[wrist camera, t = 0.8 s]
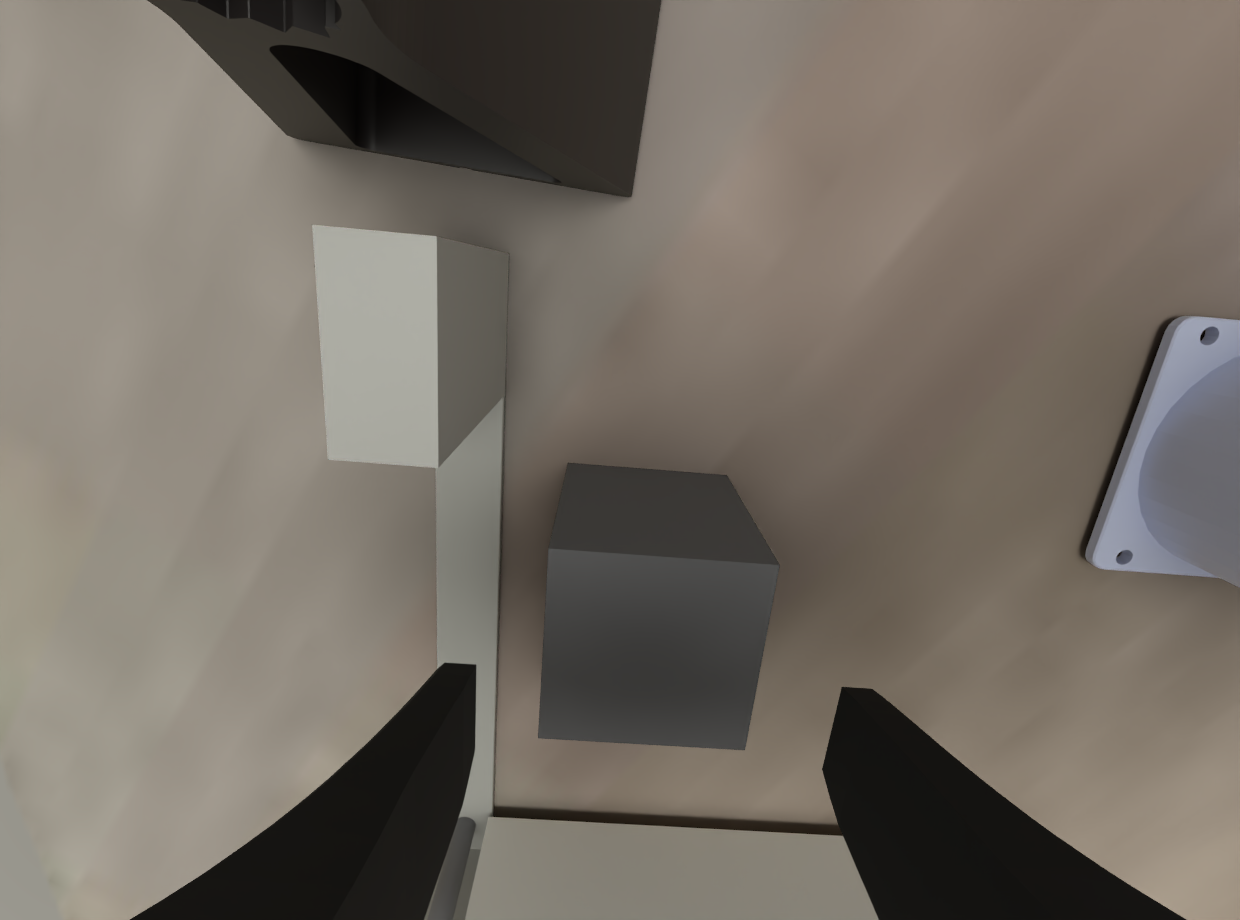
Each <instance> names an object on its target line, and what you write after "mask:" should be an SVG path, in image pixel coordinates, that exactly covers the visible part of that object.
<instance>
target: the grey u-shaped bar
mask: <svg viewBox="0 0 1240 920" xmlns="http://www.w3.org/2000/svg"><path fill="white" fill-rule="evenodd" d="M312 229H313V244H314V259H315V273H316V288H317V303H318V318H319V333H320V348H321V363H322V378H323V393H324V408H325V423H326V437H327V452H328V460H341V461H354V462H367V463H380V464H392V465H405V466H418V467H431V468H436V579H437V669H438V668H439V667H440V666H441V665H442V664H444V663H460V664H476V729H475V753H474V758H473V762H472V767H471V771H470V776H469V780H468V785H467V789H466V793H465V798H464V802H463V806H462V809H461V812H460V815H459V818H458V821H457V824H456V827H455V830H454V833H453V836H452V839H451V842H450V845H449V848H448V851H447V854H446V857H445V859H444V862H443V865H442V868H441V871H440V874H439V877H438V880H437V883H436V886H435V889H434V892H433V895H432V898H431V901H430V904H429V907H428V909H427V912H426V915H425V918H424V920H465V917H466V913H467V908H468V904H469V900H470V895H471V891H472V886H473V882H474V878H475V873H476V869H477V865H478V860H479V856H480V851H481V847H482V843H483V838H484V834H485V830H486V825H487V821H488V817H493V813H494V777H495V741H496V705H497V669H498V633H499V598H500V562H501V526H502V490H503V454H504V418H505V382H506V346H507V310H508V274H509V253H505V252H501V251H497V250H492V249H488V248H484V247H480V246H476V245H471V244H467V243H463V242H459V241H454V240H450V239H446V238H442V237H437V236H428V235H417V234H406V233H396V232H385V231H374V230H363V229H352V228H342V227H331V226H320V225H312Z"/></svg>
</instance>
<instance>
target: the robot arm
mask: <svg viewBox="0 0 1240 920" xmlns="http://www.w3.org/2000/svg"><path fill="white" fill-rule="evenodd" d="M1204 330H1205V336H1204V338H1203V339H1202V340H1201V341H1200V335H1201V334H1202V332H1203V331H1204ZM1121 551H1122V553H1121V555H1120V556H1119V557H1117V555H1118V554H1119V553H1120V552H1121ZM1085 557H1086V560H1087V561H1088V562H1089V563H1090V564H1092V565H1094V566H1095V567H1097V568H1100V569H1105V570H1119V571H1132V572H1146V573H1159V574H1173V575H1187V576H1200V577H1214V578H1221V579H1223V580H1225V581H1227V582H1229V583H1231V584H1233V585H1235V586H1237V587H1239V588H1240V320H1232V319H1221V318H1210V317H1199V316H1181V317H1179V318H1177V319H1175V320H1173V321H1172V322H1171V323H1170V324H1169V325H1168V327H1167V329H1166V330H1165V332H1164V335H1163V338H1162V341H1161V344H1160V346H1159V349H1158V352H1157V355H1156V357H1155V360H1154V363H1153V366H1152V368H1151V371H1150V374H1149V377H1148V380H1147V382H1146V385H1145V388H1144V391H1143V393H1142V396H1141V399H1140V402H1139V404H1138V407H1137V410H1136V413H1135V416H1134V418H1133V421H1132V424H1131V427H1130V429H1129V432H1128V435H1127V438H1126V440H1125V443H1124V446H1123V449H1122V452H1121V454H1120V457H1119V460H1118V463H1117V465H1116V468H1115V471H1114V474H1113V477H1112V479H1111V482H1110V485H1109V488H1108V490H1107V493H1106V496H1105V499H1104V501H1103V504H1102V507H1101V510H1100V513H1099V515H1098V518H1097V521H1096V524H1095V526H1094V529H1093V532H1092V535H1091V537H1090V540H1089V543H1088V546H1087V549H1086V553H1085ZM1116 557H1117V558H1116ZM475 729H476V664H460V663H444V664H442V665H441V666H440V667H439V668H438V669H437V670H436V671H435V672H434V673H433V674H432V676H431V677H430V678H429V679H428V680H427V681H426V682H425V684H424V685H423V686H422V687H421V688H420V689H419V690H418V691H417V692H416V693H415V695H414V696H413V697H412V698H411V699H410V700H409V701H408V702H407V703H406V704H405V705H404V706H403V707H402V708H401V710H400V711H399V712H398V713H397V714H396V715H395V716H394V717H393V718H392V719H391V720H390V721H389V722H388V723H387V724H386V725H385V726H384V727H383V728H382V729H381V730H380V731H379V732H378V733H377V734H376V735H375V736H374V737H373V738H372V739H371V740H370V741H369V742H368V743H367V744H366V745H365V746H364V747H363V748H362V749H360V750H359V751H358V752H357V753H356V754H355V755H354V756H353V757H352V758H351V759H350V760H348V761H347V762H346V763H345V764H344V765H343V766H342V767H341V768H340V769H339V770H338V771H336V772H335V773H334V774H333V775H332V776H331V777H330V778H329V779H328V780H326V781H325V782H324V783H323V784H322V785H321V786H319V787H318V788H317V789H316V790H315V791H314V792H312V793H311V794H310V795H309V796H308V797H306V798H305V799H304V800H303V801H302V802H300V803H299V804H298V805H297V806H295V807H294V808H293V809H292V810H290V811H289V812H288V813H286V814H285V815H284V816H283V817H281V818H280V819H279V820H278V821H276V822H275V823H274V824H272V825H271V826H270V827H268V828H267V829H266V830H264V831H263V832H262V833H260V834H259V835H258V836H256V837H255V838H253V839H252V840H251V841H249V842H248V843H247V844H245V845H244V846H242V847H241V848H240V849H238V850H237V851H235V852H234V853H232V854H231V855H230V856H228V857H227V858H225V859H224V860H222V861H221V862H220V863H218V864H217V865H215V866H214V867H212V868H211V869H210V870H208V871H207V872H205V873H204V874H202V875H201V876H199V877H198V878H196V879H195V880H193V881H191V882H190V883H188V884H187V885H185V886H184V887H182V888H180V889H179V890H177V891H176V892H174V893H173V894H171V895H169V896H168V897H166V898H165V899H163V900H162V901H160V902H158V903H157V904H155V905H153V906H152V907H150V908H148V909H147V910H145V911H143V912H142V913H140V914H138V915H137V916H135V917H133V918H132V919H130V920H424V918H425V915H426V912H427V909H428V907H429V904H430V901H431V898H432V895H433V892H434V889H435V886H436V883H437V880H438V877H439V874H440V871H441V868H442V865H443V862H444V859H445V857H446V854H447V851H448V848H449V845H450V842H451V839H452V836H453V833H454V830H455V827H456V824H457V821H458V818H459V815H460V812H461V809H462V806H463V802H464V798H465V793H466V789H467V785H468V780H469V776H470V771H471V767H472V762H473V758H474V753H475ZM822 770H823V774H824V777H825V781H826V785H827V788H828V792H829V795H830V799H831V802H832V805H833V809H834V812H835V815H836V818H837V822H838V825H839V827H840V829H841V832H842V834H843V837H844V839H845V842H846V844H847V846H848V849H849V851H850V854H851V856H852V858H853V861H854V863H855V865H856V868H857V870H858V872H859V875H860V877H861V879H862V882H863V884H864V886H865V889H866V891H867V893H868V896H869V898H870V900H871V903H872V905H873V907H874V910H875V912H876V914H877V917H878V919H879V920H1186V919H1184V918H1183V917H1181V916H1179V915H1178V914H1176V913H1174V912H1173V911H1171V910H1169V909H1168V908H1166V907H1165V906H1163V905H1161V904H1160V903H1158V902H1156V901H1155V900H1153V899H1151V898H1150V897H1148V896H1147V895H1145V894H1143V893H1142V892H1140V891H1138V890H1137V889H1135V888H1133V887H1132V886H1130V885H1129V884H1127V883H1126V882H1124V881H1122V880H1121V879H1119V878H1118V877H1116V876H1115V875H1113V874H1112V873H1110V872H1108V871H1107V870H1105V869H1104V868H1102V867H1101V866H1099V865H1098V864H1096V863H1095V862H1094V861H1092V860H1091V859H1089V858H1088V857H1086V856H1085V855H1083V854H1082V853H1080V852H1079V851H1077V850H1076V849H1075V848H1073V847H1072V846H1070V845H1069V844H1067V843H1066V842H1064V841H1063V840H1061V839H1060V838H1058V837H1057V836H1056V835H1054V834H1053V833H1051V832H1050V831H1049V830H1047V829H1046V828H1044V827H1043V826H1042V825H1040V824H1039V823H1038V822H1036V821H1035V820H1033V819H1032V818H1031V817H1029V816H1028V815H1027V814H1026V813H1024V812H1023V811H1022V810H1020V809H1019V808H1018V807H1016V806H1015V805H1014V804H1012V803H1011V802H1010V801H1008V800H1007V799H1006V798H1005V797H1003V796H1002V795H1001V794H999V793H998V792H997V791H995V790H994V789H993V788H992V787H990V786H989V785H988V784H987V783H985V782H984V781H983V780H982V779H980V778H979V777H978V776H977V775H975V774H974V773H973V772H972V771H970V770H969V769H968V768H967V767H966V766H964V765H963V764H962V763H961V762H960V761H958V760H957V759H956V758H955V757H954V756H952V755H951V754H950V753H949V752H948V751H946V750H945V749H944V748H943V747H942V746H940V745H939V744H938V743H937V742H936V741H934V740H933V739H932V738H931V737H930V736H929V735H927V734H926V733H925V732H924V731H923V730H922V729H920V728H919V727H918V726H917V725H916V724H914V723H913V722H912V721H911V720H910V719H909V718H907V717H906V716H905V715H904V714H903V713H901V712H900V711H899V710H898V709H897V708H896V707H894V706H893V705H892V704H891V703H890V702H888V701H887V700H886V699H885V698H883V697H882V696H881V695H879V694H878V693H877V692H876V691H874V690H873V689H866V688H849V687H842V689H841V693H840V697H839V701H838V706H837V710H836V714H835V718H834V722H833V726H832V731H831V735H830V739H829V743H828V747H827V751H826V756H825V760H824V764H823V768H822Z"/></svg>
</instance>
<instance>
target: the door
mask: <svg viewBox="0 0 1240 920" xmlns="http://www.w3.org/2000/svg"><path fill="white" fill-rule="evenodd" d="M465 920H879V919H878V917H877V914H876V912H875V910H874V907H873V905H872V903H871V900H870V898H869V896H868V893H867V891H866V889H865V886H864V884H863V882H862V879H861V877H860V875H859V872H858V870H857V868H856V865H855V863H854V861H853V858H852V856H851V854H850V851H849V849H848V846H847V844H846V842H845V839H844V837H843V836H835V835H816V834H798V833H779V832H761V831H742V830H724V829H705V828H687V827H668V826H650V825H631V824H613V823H594V822H576V821H557V820H538V819H520V818H501V817H488V821H487V825H486V830H485V834H484V838H483V843H482V847H481V851H480V856H479V860H478V865H477V869H476V873H475V878H474V882H473V886H472V891H471V895H470V900H469V904H468V908H467V913H466V917H465Z"/></svg>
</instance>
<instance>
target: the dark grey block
mask: <svg viewBox="0 0 1240 920" xmlns="http://www.w3.org/2000/svg"><path fill="white" fill-rule="evenodd" d="M779 566H780V565H779V563H778V561H777V560H776V558H775V556H774V555H773V553H772V551H771V550H770V548H769V546H768V544H767V543H766V541H765V539H764V538H763V536H762V534H761V533H760V531H759V529H758V528H757V526H756V524H755V522H754V521H753V519H752V517H751V516H750V514H749V512H748V511H747V509H746V507H745V505H744V504H743V502H742V500H741V499H740V497H739V495H738V494H737V492H736V490H735V489H734V487H733V485H732V483H731V482H730V480H729V478H728V477H727V475H717V474H704V473H691V472H679V471H666V470H653V469H640V468H628V467H615V466H602V465H589V464H576V463H568V465H567V470H566V474H565V479H564V483H563V487H562V492H561V496H560V500H559V505H558V509H557V514H556V518H555V522H554V527H553V531H552V535H551V540H550V544H549V549H548V567H547V585H546V603H545V621H544V639H543V658H542V676H541V694H540V712H539V730H538V738H544V739H561V740H578V741H596V742H613V743H630V744H647V745H665V746H682V747H699V748H716V749H734V750H745V747H746V741H747V736H748V731H749V725H750V720H751V715H752V709H753V704H754V699H755V693H756V688H757V683H758V678H759V672H760V667H761V662H762V656H763V651H764V646H765V640H766V635H767V630H768V624H769V619H770V614H771V608H772V603H773V598H774V592H775V587H776V582H777V576H778V571H779Z"/></svg>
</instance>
